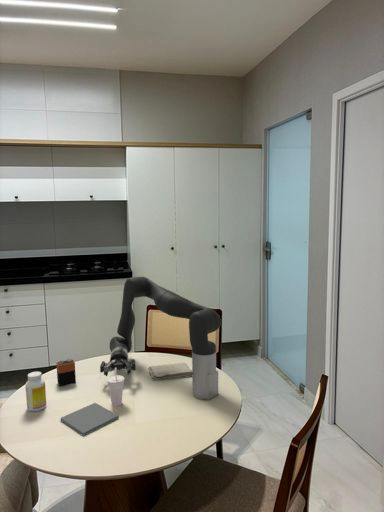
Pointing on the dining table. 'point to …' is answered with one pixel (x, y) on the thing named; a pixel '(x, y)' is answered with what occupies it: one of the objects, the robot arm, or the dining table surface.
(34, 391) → the supplement bottle
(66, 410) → the dining table surface
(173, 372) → the washcloth
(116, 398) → the smoothie
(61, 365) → the battery
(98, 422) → the coaster
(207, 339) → the robot arm
